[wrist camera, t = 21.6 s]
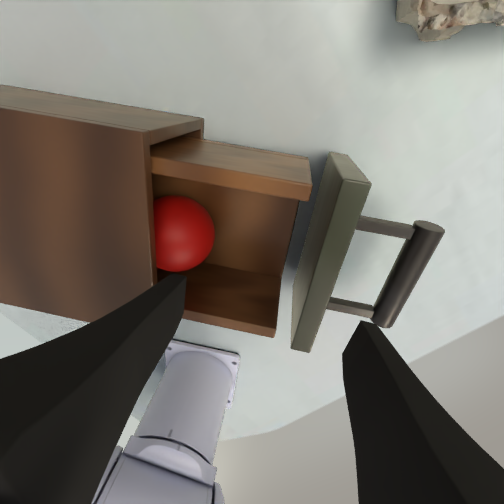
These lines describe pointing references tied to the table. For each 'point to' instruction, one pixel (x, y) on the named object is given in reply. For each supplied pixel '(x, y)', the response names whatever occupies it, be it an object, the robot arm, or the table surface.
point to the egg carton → (447, 16)
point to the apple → (181, 233)
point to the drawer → (279, 236)
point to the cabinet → (78, 201)
